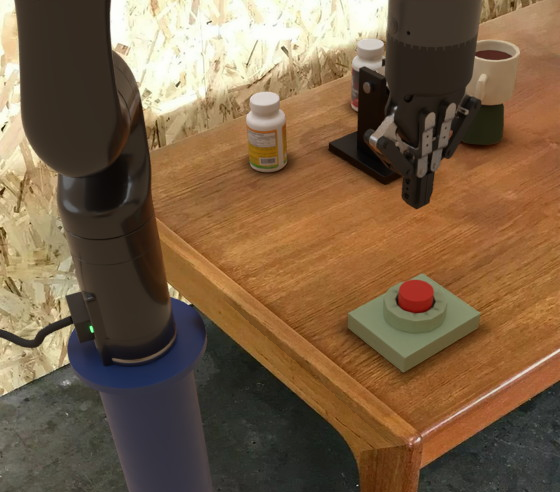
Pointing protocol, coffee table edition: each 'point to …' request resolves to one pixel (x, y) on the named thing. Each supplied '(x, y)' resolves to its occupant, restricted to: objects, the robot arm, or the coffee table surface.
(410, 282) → the button
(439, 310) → the button block
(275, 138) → the supplement bottle
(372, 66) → the pill bottle
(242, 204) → the coffee table surface
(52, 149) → the robot arm
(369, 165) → the switch bracket
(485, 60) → the character mug
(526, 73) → the coffee table surface
